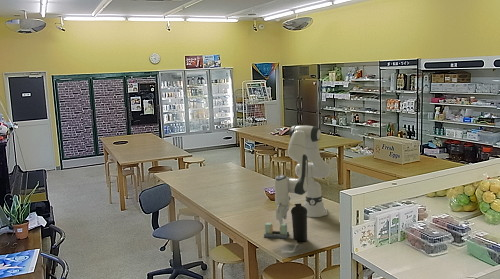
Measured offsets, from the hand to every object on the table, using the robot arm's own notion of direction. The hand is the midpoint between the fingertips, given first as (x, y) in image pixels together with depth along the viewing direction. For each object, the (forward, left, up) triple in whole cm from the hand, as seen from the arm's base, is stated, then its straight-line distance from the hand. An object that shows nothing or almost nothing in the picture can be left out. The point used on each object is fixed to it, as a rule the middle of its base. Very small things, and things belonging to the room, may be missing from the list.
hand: (283, 221), depth 278 cm
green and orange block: (0, -10, -10) cm, 14 cm away
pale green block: (0, 0, -10) cm, 10 cm away
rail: (0, -5, -11) cm, 12 cm away
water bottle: (+2, +11, -11) cm, 16 cm away
